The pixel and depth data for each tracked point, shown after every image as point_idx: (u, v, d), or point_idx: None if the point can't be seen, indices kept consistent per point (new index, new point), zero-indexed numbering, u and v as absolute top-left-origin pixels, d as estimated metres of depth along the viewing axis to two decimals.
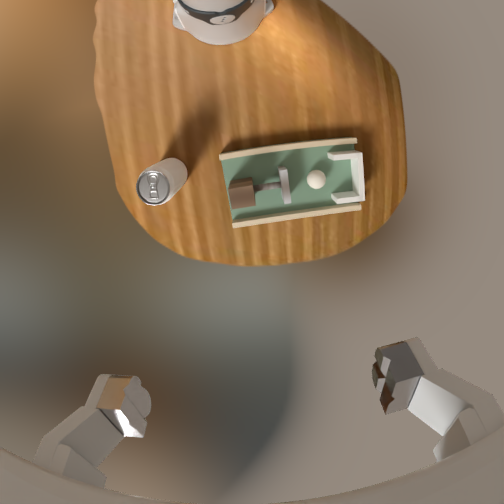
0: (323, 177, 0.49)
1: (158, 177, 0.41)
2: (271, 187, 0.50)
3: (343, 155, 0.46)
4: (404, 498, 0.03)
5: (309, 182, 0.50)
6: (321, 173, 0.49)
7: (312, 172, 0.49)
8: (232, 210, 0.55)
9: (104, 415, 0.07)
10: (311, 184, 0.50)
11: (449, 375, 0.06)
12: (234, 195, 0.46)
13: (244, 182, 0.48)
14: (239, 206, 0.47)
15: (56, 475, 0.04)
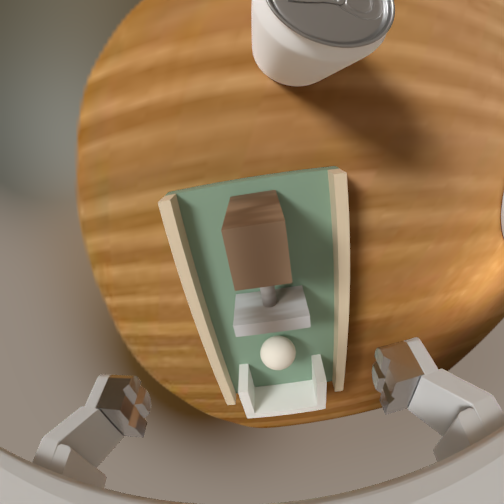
0: (284, 368, 0.27)
1: (367, 19, 0.08)
2: (265, 289, 0.23)
3: (323, 392, 0.27)
4: (404, 498, 0.03)
5: (274, 348, 0.26)
6: (291, 363, 0.27)
7: (292, 350, 0.26)
8: (199, 192, 0.22)
9: (104, 415, 0.07)
10: (271, 352, 0.26)
11: (449, 375, 0.06)
12: (265, 238, 0.16)
13: None
14: (231, 251, 0.16)
15: (56, 475, 0.04)
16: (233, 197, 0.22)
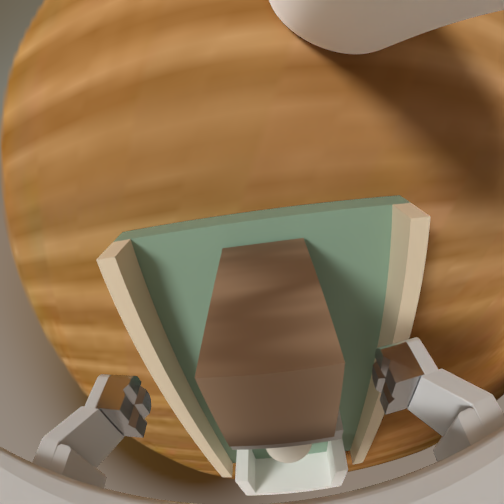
0: None
1: None
2: None
3: (341, 476, 0.18)
4: (404, 498, 0.03)
5: None
6: None
7: None
8: (169, 239, 0.13)
9: (104, 415, 0.07)
10: (280, 447, 0.16)
11: (449, 375, 0.06)
12: (295, 392, 0.06)
13: None
14: (219, 407, 0.07)
15: (56, 475, 0.04)
16: (227, 251, 0.12)
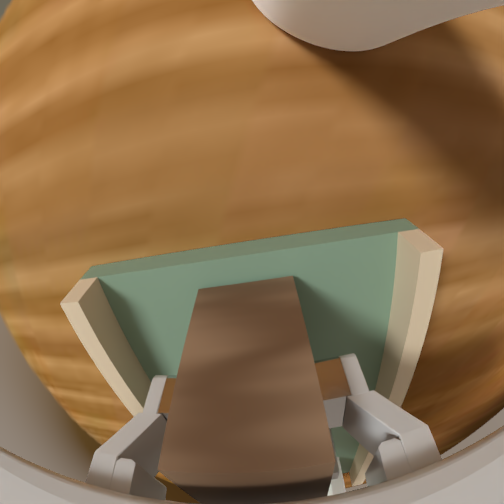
0: None
1: None
2: None
3: None
4: (404, 498, 0.03)
5: None
6: None
7: None
8: (138, 278, 0.11)
9: (166, 420, 0.07)
10: None
11: (381, 398, 0.06)
12: (276, 482, 0.05)
13: None
14: (192, 489, 0.05)
15: (56, 475, 0.04)
16: (203, 294, 0.10)
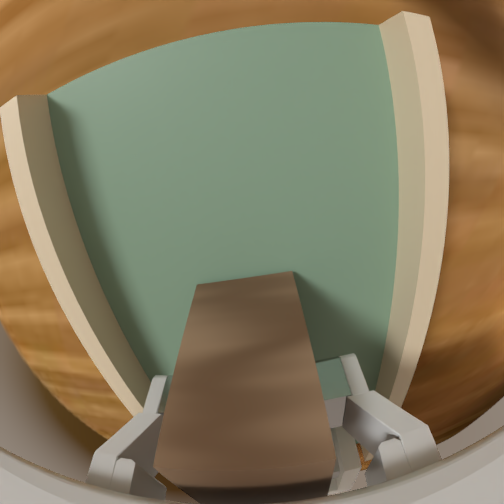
0: None
1: None
2: None
3: (351, 478, 0.12)
4: (404, 498, 0.03)
5: None
6: None
7: None
8: (87, 81, 0.07)
9: None
10: None
11: (382, 398, 0.06)
12: (275, 481, 0.04)
13: None
14: (189, 487, 0.05)
15: (56, 475, 0.04)
16: (202, 289, 0.10)
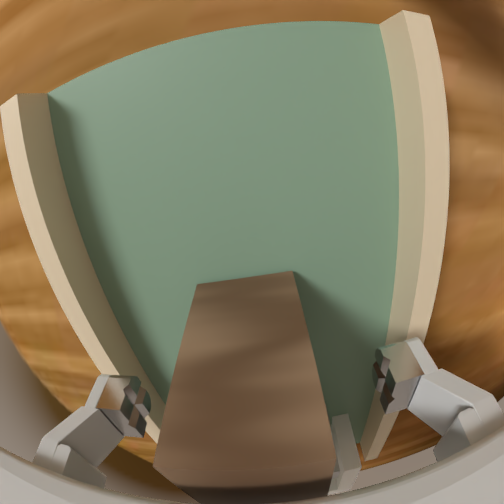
0: None
1: None
2: None
3: (351, 477, 0.12)
4: (404, 498, 0.03)
5: None
6: None
7: None
8: (87, 80, 0.07)
9: (104, 415, 0.07)
10: None
11: (449, 375, 0.06)
12: (275, 481, 0.04)
13: None
14: (189, 487, 0.05)
15: (56, 475, 0.04)
16: (202, 289, 0.10)
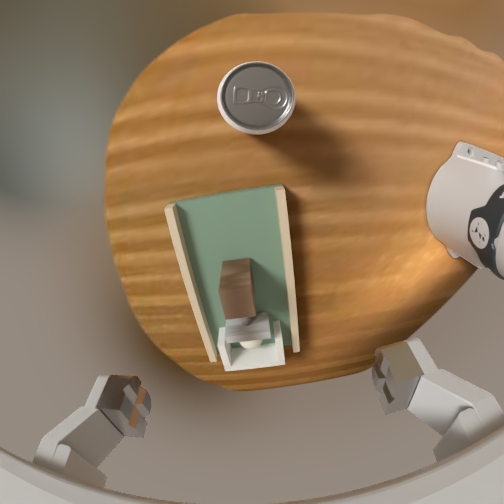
0: None
1: (276, 109, 0.20)
2: None
3: (281, 348, 0.39)
4: (404, 498, 0.03)
5: None
6: None
7: None
8: (191, 202, 0.34)
9: (104, 415, 0.07)
10: None
11: (449, 375, 0.06)
12: (240, 295, 0.31)
13: (253, 291, 0.35)
14: (223, 300, 0.31)
15: (56, 475, 0.04)
16: (224, 262, 0.37)
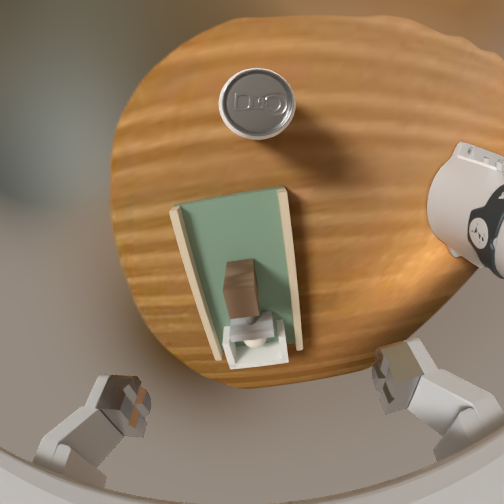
0: None
1: (277, 115, 0.21)
2: None
3: (284, 346, 0.40)
4: (404, 498, 0.03)
5: None
6: None
7: None
8: (195, 205, 0.35)
9: (104, 415, 0.07)
10: None
11: (449, 375, 0.06)
12: (244, 295, 0.32)
13: None
14: (227, 300, 0.32)
15: (56, 475, 0.04)
16: (228, 263, 0.38)
